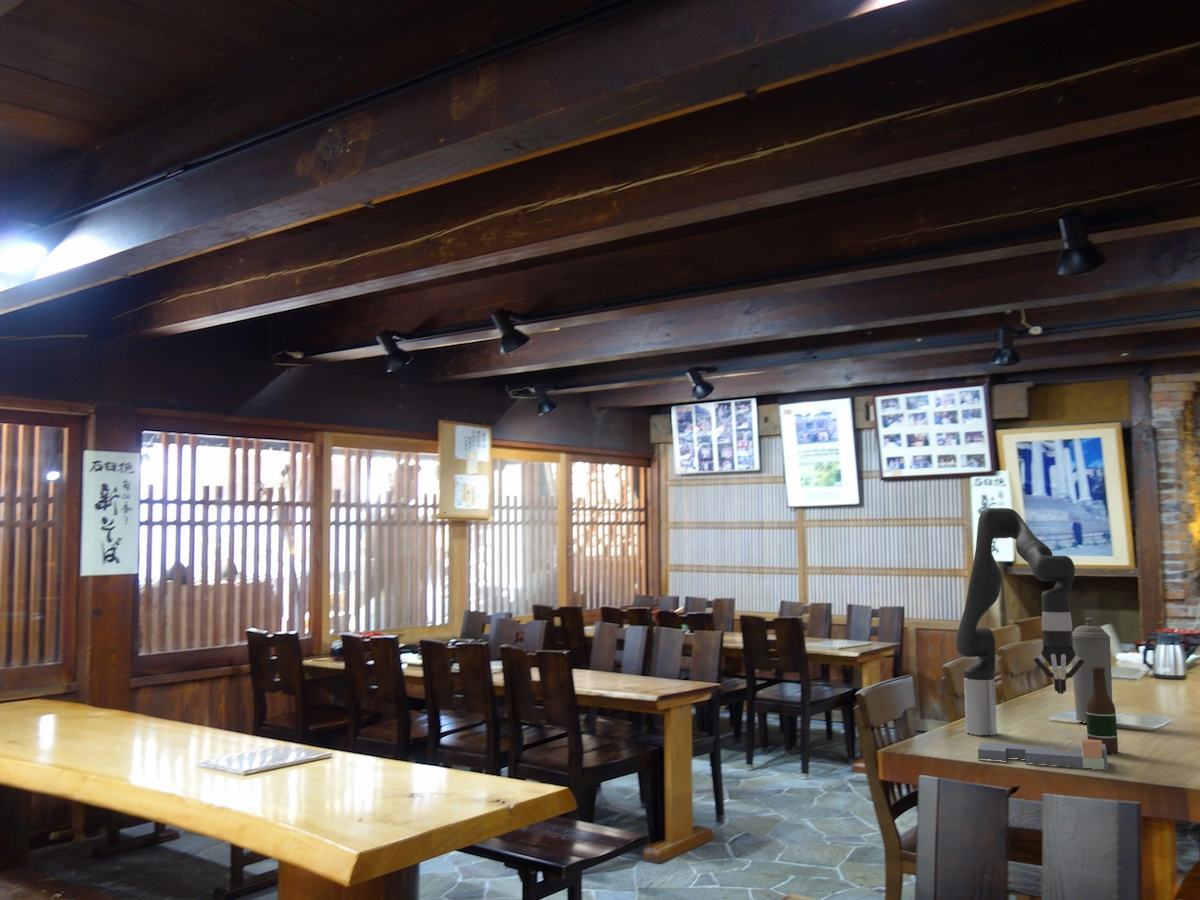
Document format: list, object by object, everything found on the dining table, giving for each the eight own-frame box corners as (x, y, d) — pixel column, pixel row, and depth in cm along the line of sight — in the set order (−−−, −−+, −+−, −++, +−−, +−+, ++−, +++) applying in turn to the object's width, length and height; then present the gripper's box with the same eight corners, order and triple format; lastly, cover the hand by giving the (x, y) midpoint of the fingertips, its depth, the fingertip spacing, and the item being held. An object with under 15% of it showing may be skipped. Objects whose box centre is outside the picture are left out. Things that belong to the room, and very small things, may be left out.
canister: (1082, 718, 338) (1076, 616, 342) (1122, 723, 329) (1115, 617, 333) (1067, 723, 330) (1061, 618, 334) (1107, 727, 321) (1100, 619, 324)
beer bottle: (1124, 753, 278) (1119, 667, 281) (1100, 754, 277) (1094, 668, 280) (1106, 748, 286) (1101, 665, 289) (1082, 749, 285) (1077, 665, 287)
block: (1084, 754, 263) (1083, 738, 264) (1103, 755, 261) (1102, 740, 261) (1083, 757, 259) (1082, 741, 260) (1102, 758, 257) (1101, 743, 258)
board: (981, 752, 281) (981, 735, 281) (1106, 761, 267) (1105, 743, 268) (978, 760, 270) (977, 742, 271) (1107, 770, 257) (1106, 751, 257)
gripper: (1083, 628, 269) (1087, 692, 267) (1031, 627, 274) (1034, 690, 272) (1084, 630, 262) (1087, 696, 260) (1030, 629, 268) (1033, 693, 266)
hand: (1060, 693), depth 266 cm, fingers closed
